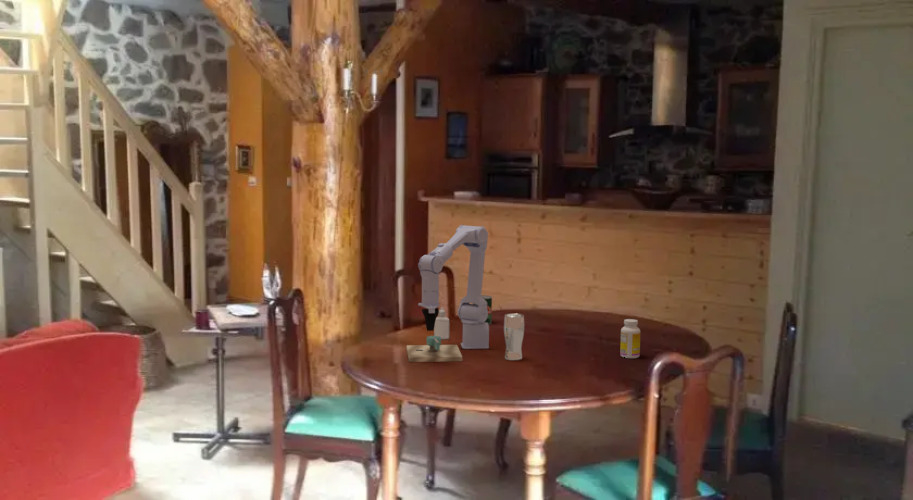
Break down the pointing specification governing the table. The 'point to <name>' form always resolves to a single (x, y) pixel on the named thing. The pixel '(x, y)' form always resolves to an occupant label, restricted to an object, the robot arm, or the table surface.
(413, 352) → the post base
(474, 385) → the table surface
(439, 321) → the eye dropper bottle
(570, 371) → the table surface
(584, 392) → the table surface
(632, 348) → the supplement bottle
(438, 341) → the knob
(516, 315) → the beer glass
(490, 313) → the canned tomato
